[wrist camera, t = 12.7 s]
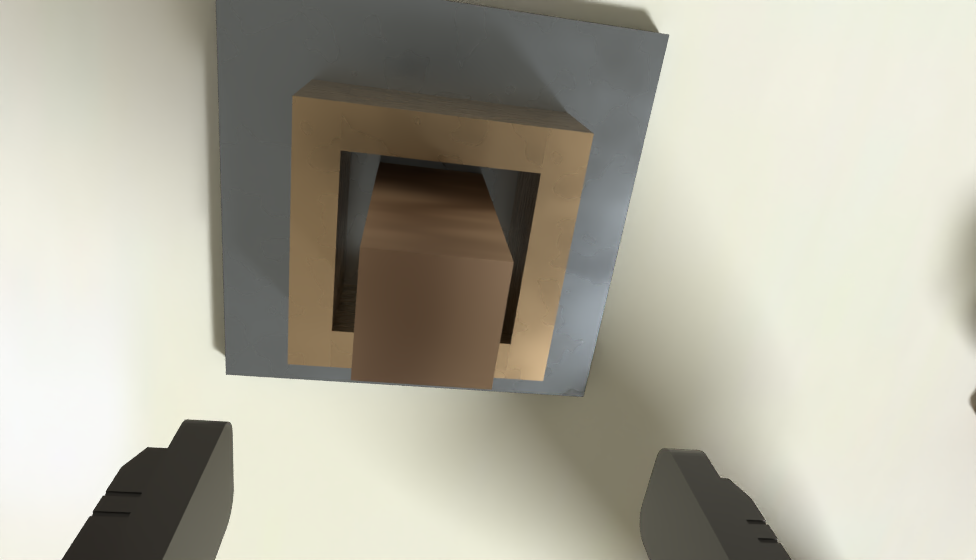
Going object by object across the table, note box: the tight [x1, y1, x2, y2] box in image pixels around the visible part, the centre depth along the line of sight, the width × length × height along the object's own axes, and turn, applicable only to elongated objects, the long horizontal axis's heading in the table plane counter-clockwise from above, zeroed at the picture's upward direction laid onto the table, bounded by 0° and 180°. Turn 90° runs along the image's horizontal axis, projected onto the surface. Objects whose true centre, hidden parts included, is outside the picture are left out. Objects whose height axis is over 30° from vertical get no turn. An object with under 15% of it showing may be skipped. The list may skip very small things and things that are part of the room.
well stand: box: [216, 0, 669, 397], centre depth 24 cm, size 16×16×5 cm
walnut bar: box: [351, 162, 514, 390], centre depth 21 cm, size 4×4×9 cm
